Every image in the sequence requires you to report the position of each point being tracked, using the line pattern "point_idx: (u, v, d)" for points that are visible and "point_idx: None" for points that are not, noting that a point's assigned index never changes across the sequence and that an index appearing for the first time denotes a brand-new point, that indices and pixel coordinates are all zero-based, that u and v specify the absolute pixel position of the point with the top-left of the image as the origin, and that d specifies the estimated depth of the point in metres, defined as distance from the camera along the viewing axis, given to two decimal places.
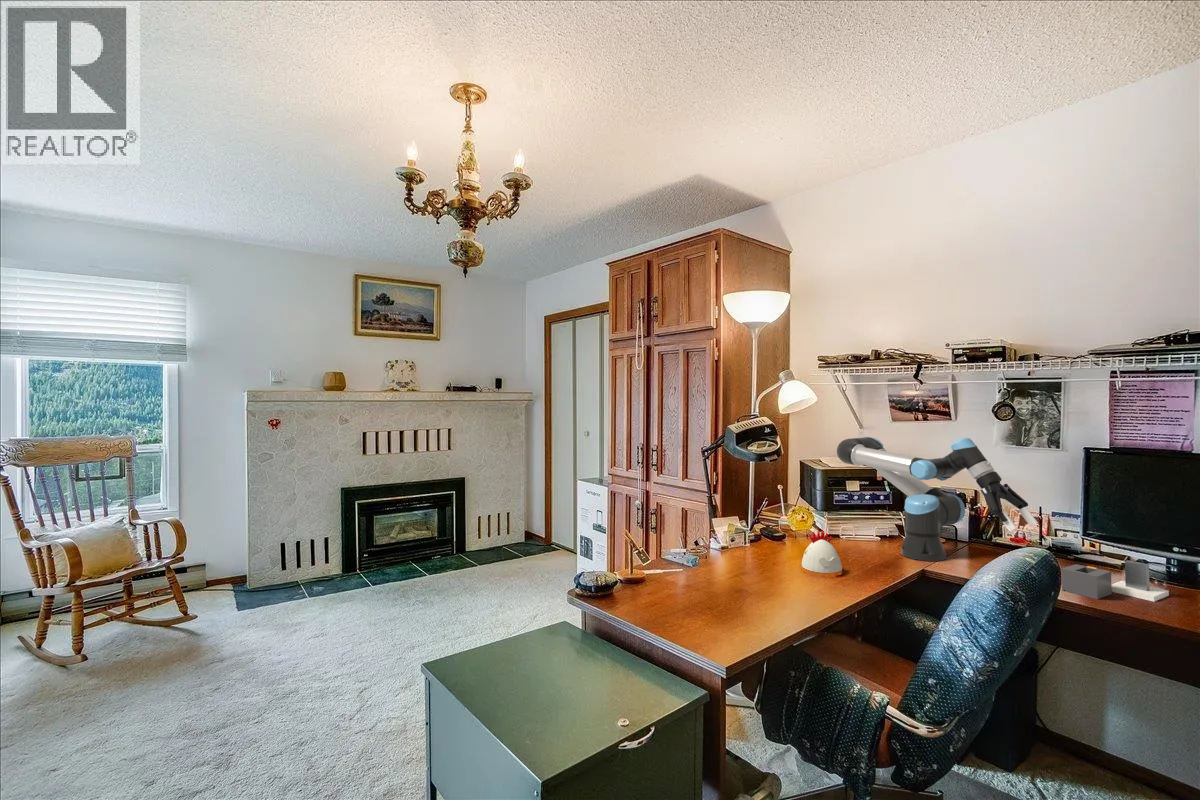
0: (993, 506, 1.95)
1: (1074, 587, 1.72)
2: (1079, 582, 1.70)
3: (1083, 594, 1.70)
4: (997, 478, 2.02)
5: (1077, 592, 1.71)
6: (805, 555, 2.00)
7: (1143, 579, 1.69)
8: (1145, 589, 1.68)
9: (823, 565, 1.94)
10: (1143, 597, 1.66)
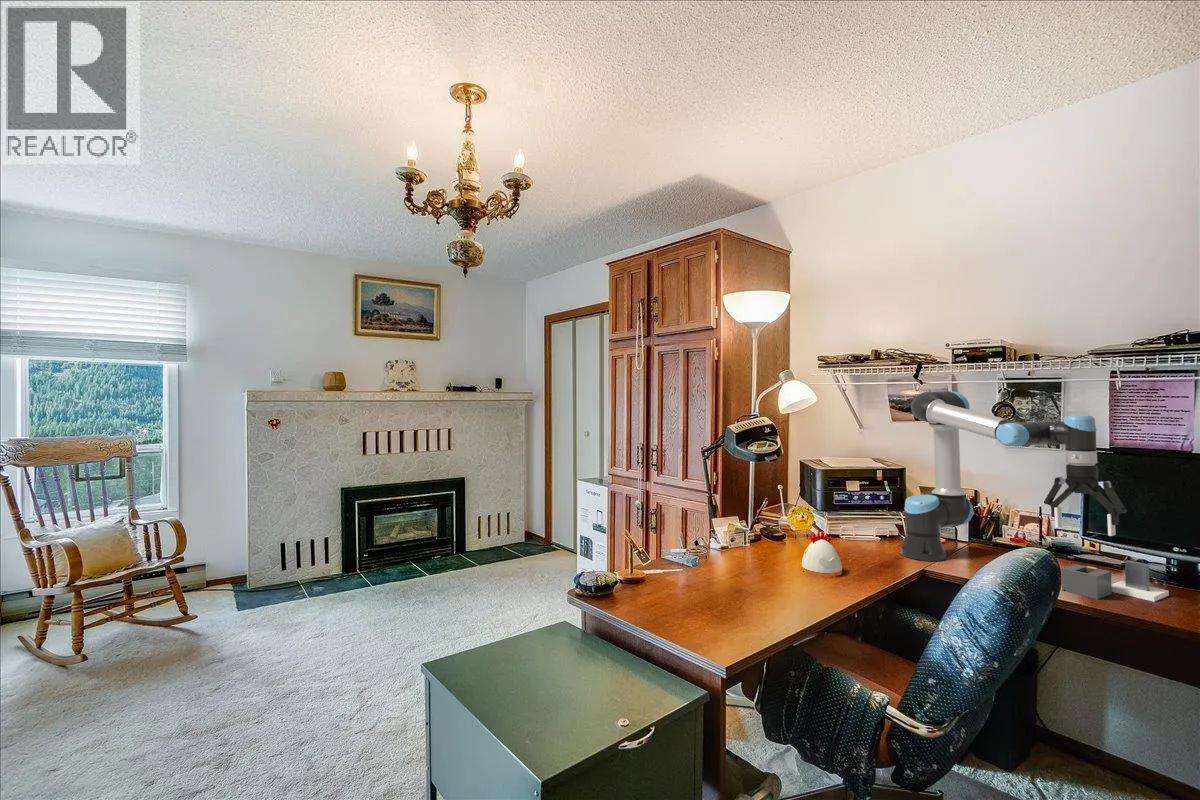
0: None
1: (1074, 587, 1.72)
2: (1079, 582, 1.70)
3: (1083, 594, 1.70)
4: (1072, 474, 1.72)
5: (1077, 592, 1.71)
6: (805, 555, 2.00)
7: (1143, 579, 1.69)
8: (1145, 589, 1.68)
9: (823, 565, 1.94)
10: (1143, 597, 1.66)
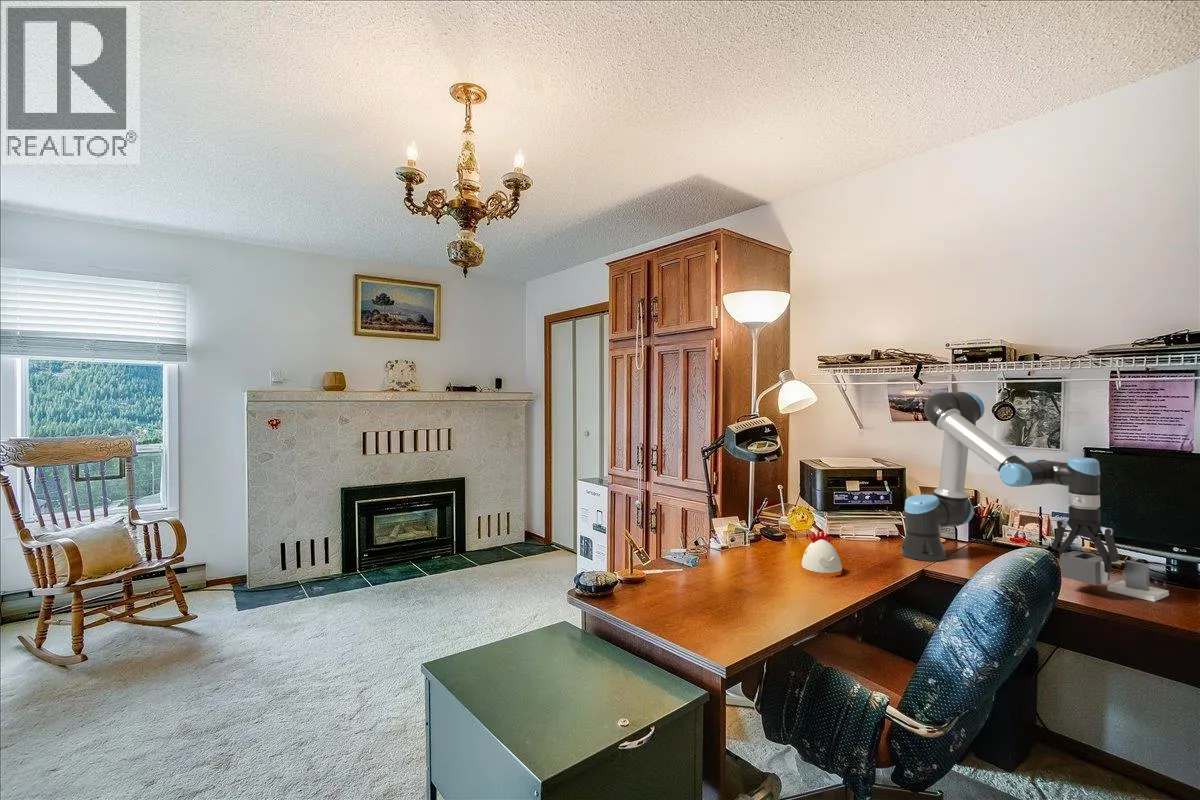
0: None
1: (1073, 573, 1.72)
2: (1077, 568, 1.71)
3: (1081, 580, 1.70)
4: (1074, 517, 1.72)
5: (1075, 578, 1.71)
6: (805, 555, 2.00)
7: (1143, 579, 1.69)
8: (1145, 589, 1.68)
9: (823, 565, 1.94)
10: (1143, 597, 1.66)
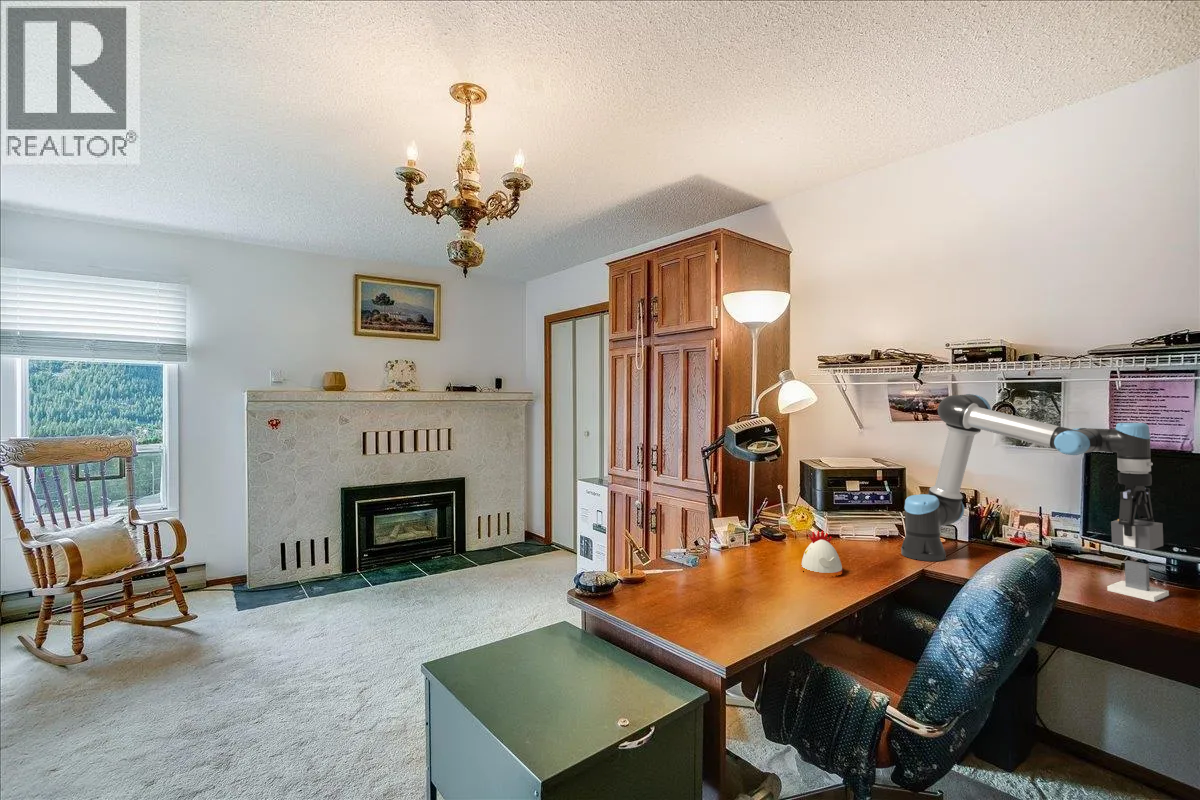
0: (1127, 518, 1.66)
1: (1155, 542, 1.66)
2: (1156, 535, 1.66)
3: (1158, 546, 1.67)
4: (1148, 484, 1.67)
5: (1156, 546, 1.66)
6: (805, 555, 2.00)
7: (1143, 579, 1.69)
8: (1145, 589, 1.68)
9: (823, 565, 1.94)
10: (1143, 597, 1.66)
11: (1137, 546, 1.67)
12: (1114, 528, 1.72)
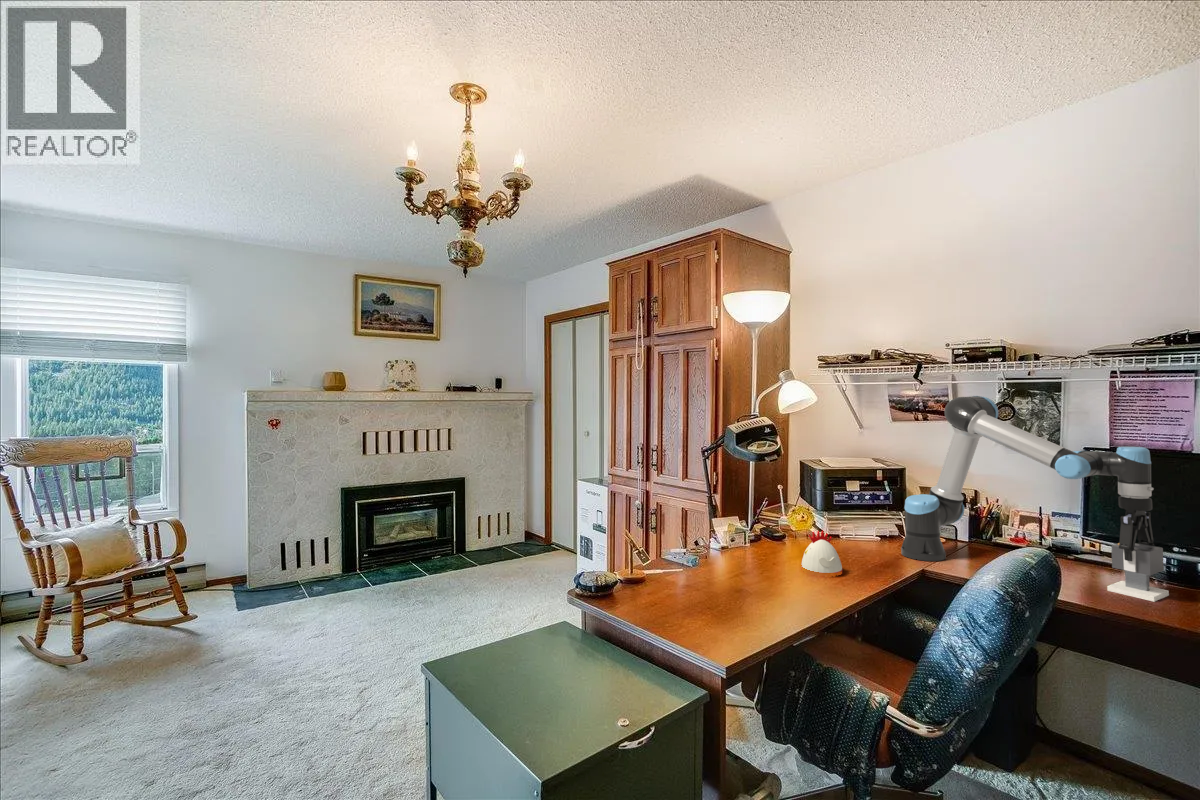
0: (1127, 543, 1.66)
1: (1155, 567, 1.66)
2: (1156, 560, 1.67)
3: (1158, 570, 1.67)
4: (1149, 508, 1.67)
5: (1156, 571, 1.66)
6: (805, 555, 2.00)
7: (1143, 579, 1.69)
8: (1145, 589, 1.68)
9: (823, 565, 1.94)
10: (1143, 597, 1.66)
11: (1137, 571, 1.67)
12: (1115, 552, 1.72)
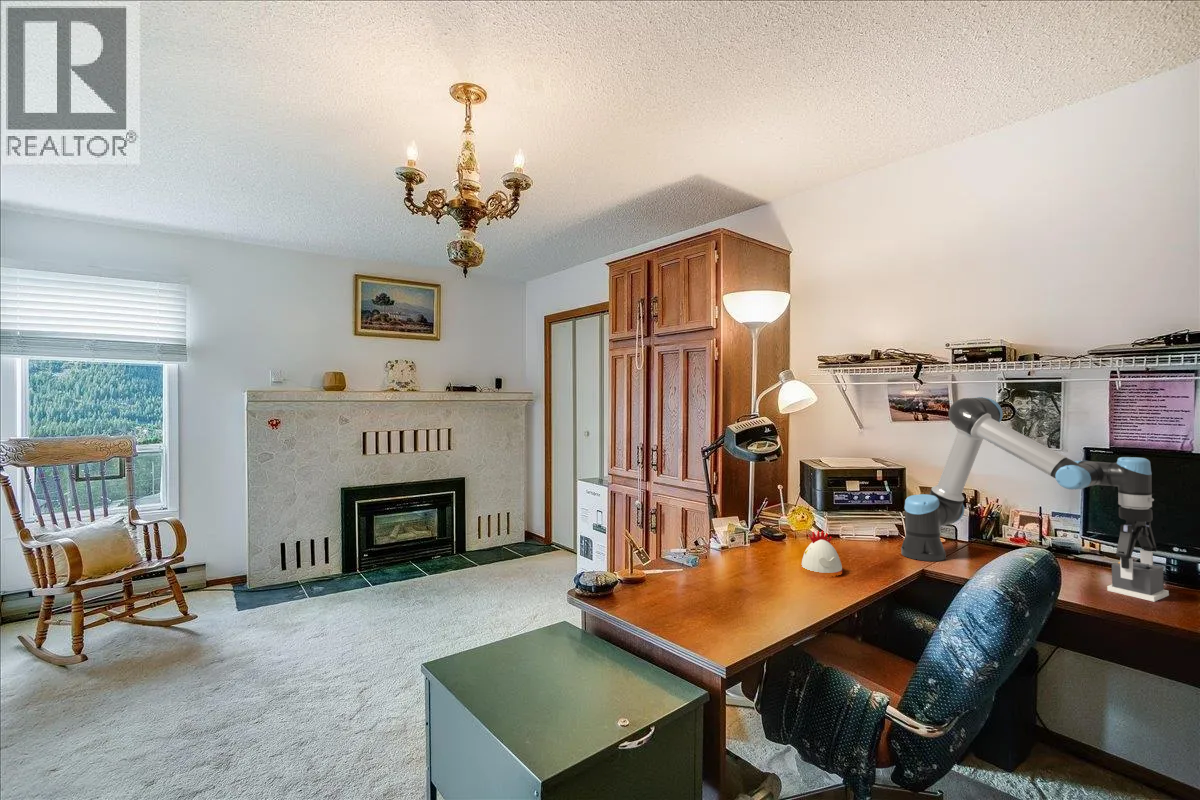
0: (1125, 551, 1.66)
1: (1155, 586, 1.66)
2: (1156, 579, 1.67)
3: (1158, 590, 1.67)
4: (1149, 519, 1.67)
5: (1156, 590, 1.66)
6: (805, 555, 2.00)
7: None
8: None
9: (823, 565, 1.94)
10: (1143, 597, 1.66)
11: (1137, 590, 1.67)
12: (1115, 571, 1.72)
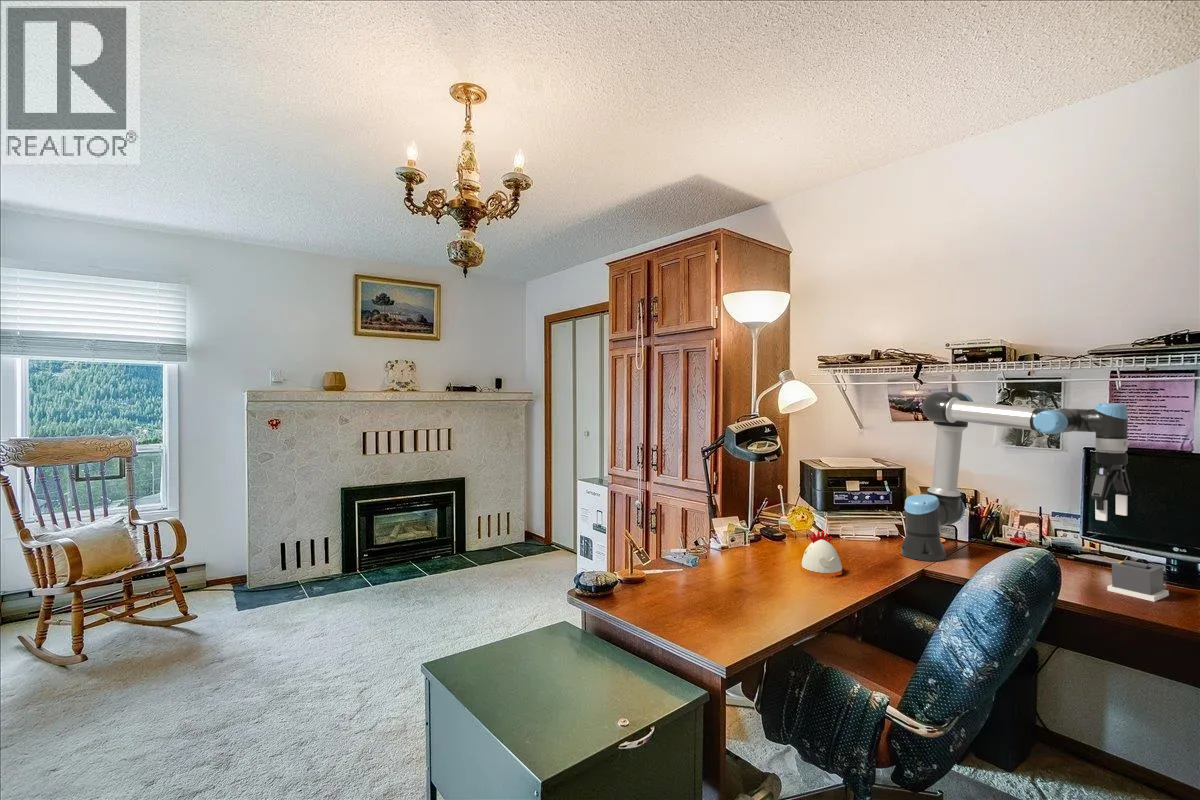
0: (1099, 492, 1.70)
1: (1155, 586, 1.66)
2: (1156, 579, 1.67)
3: (1158, 590, 1.67)
4: (1124, 463, 1.71)
5: (1156, 590, 1.66)
6: (805, 555, 2.00)
7: None
8: None
9: (823, 565, 1.94)
10: (1143, 597, 1.66)
11: (1137, 590, 1.67)
12: (1115, 571, 1.72)
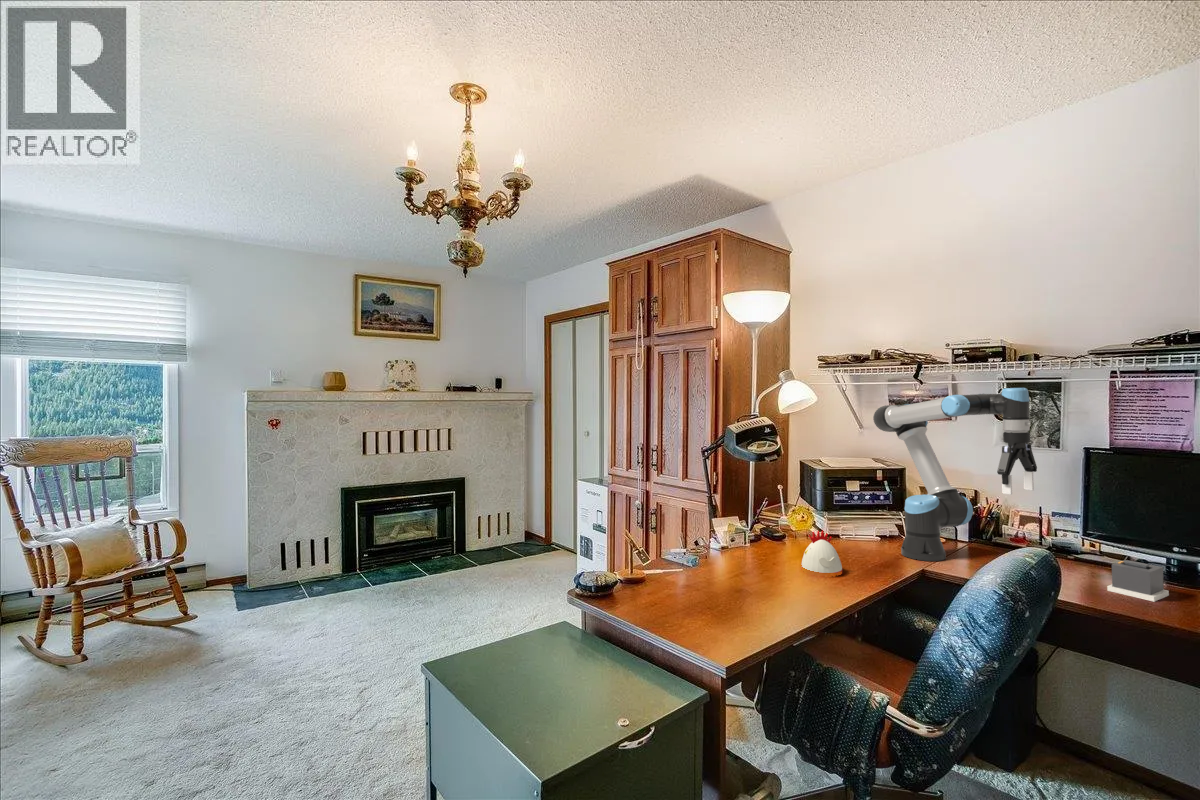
0: (1004, 468, 1.87)
1: (1155, 586, 1.66)
2: (1156, 579, 1.67)
3: (1158, 590, 1.67)
4: (1026, 441, 1.88)
5: (1156, 590, 1.66)
6: (805, 555, 2.00)
7: None
8: None
9: (823, 565, 1.94)
10: (1143, 597, 1.66)
11: (1137, 590, 1.67)
12: (1115, 571, 1.72)
